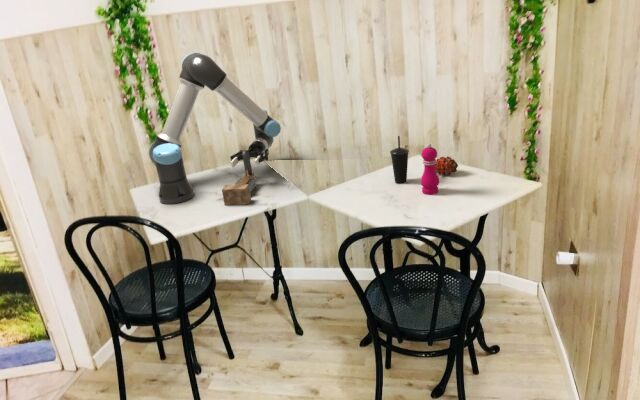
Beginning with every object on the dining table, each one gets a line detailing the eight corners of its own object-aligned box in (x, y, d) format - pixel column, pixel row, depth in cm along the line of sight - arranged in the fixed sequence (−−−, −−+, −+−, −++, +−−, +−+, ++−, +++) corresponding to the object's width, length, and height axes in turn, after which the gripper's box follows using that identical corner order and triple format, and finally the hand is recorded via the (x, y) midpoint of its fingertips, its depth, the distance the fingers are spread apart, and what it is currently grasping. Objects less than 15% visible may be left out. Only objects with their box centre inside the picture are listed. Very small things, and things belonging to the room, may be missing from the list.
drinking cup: (411, 184, 217) (409, 138, 210) (392, 185, 218) (390, 139, 210) (408, 177, 224) (406, 132, 217) (390, 179, 225) (388, 134, 217)
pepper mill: (439, 195, 204) (438, 146, 196) (420, 195, 205) (419, 147, 198) (439, 188, 210) (438, 140, 203) (421, 188, 212) (419, 141, 204)
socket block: (224, 205, 218) (221, 189, 215) (228, 200, 222) (225, 185, 220) (247, 204, 216) (244, 188, 213) (251, 199, 220) (248, 184, 218)
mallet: (236, 194, 223) (230, 161, 218) (247, 181, 237) (241, 150, 231) (245, 194, 223) (239, 161, 217) (255, 181, 236) (250, 149, 230)
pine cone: (460, 179, 221) (432, 181, 226) (460, 162, 226) (432, 165, 231) (456, 167, 215) (427, 171, 220) (456, 151, 219) (428, 154, 224)
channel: (234, 197, 225) (232, 186, 223) (242, 188, 234) (240, 177, 232) (249, 196, 224) (248, 185, 222) (256, 187, 233) (254, 177, 231)
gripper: (282, 154, 246) (270, 171, 226) (236, 156, 251) (220, 173, 231) (280, 139, 243) (267, 154, 223) (234, 141, 248) (217, 157, 228)
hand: (243, 164), depth 227 cm, fingers open, 10 cm apart
